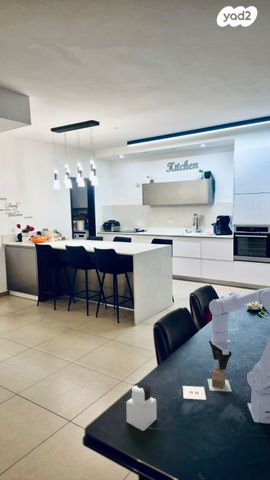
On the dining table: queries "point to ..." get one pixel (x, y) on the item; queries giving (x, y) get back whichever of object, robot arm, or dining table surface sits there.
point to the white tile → (194, 392)
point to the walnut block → (218, 377)
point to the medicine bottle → (141, 407)
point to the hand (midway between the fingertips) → (219, 364)
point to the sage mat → (225, 388)
